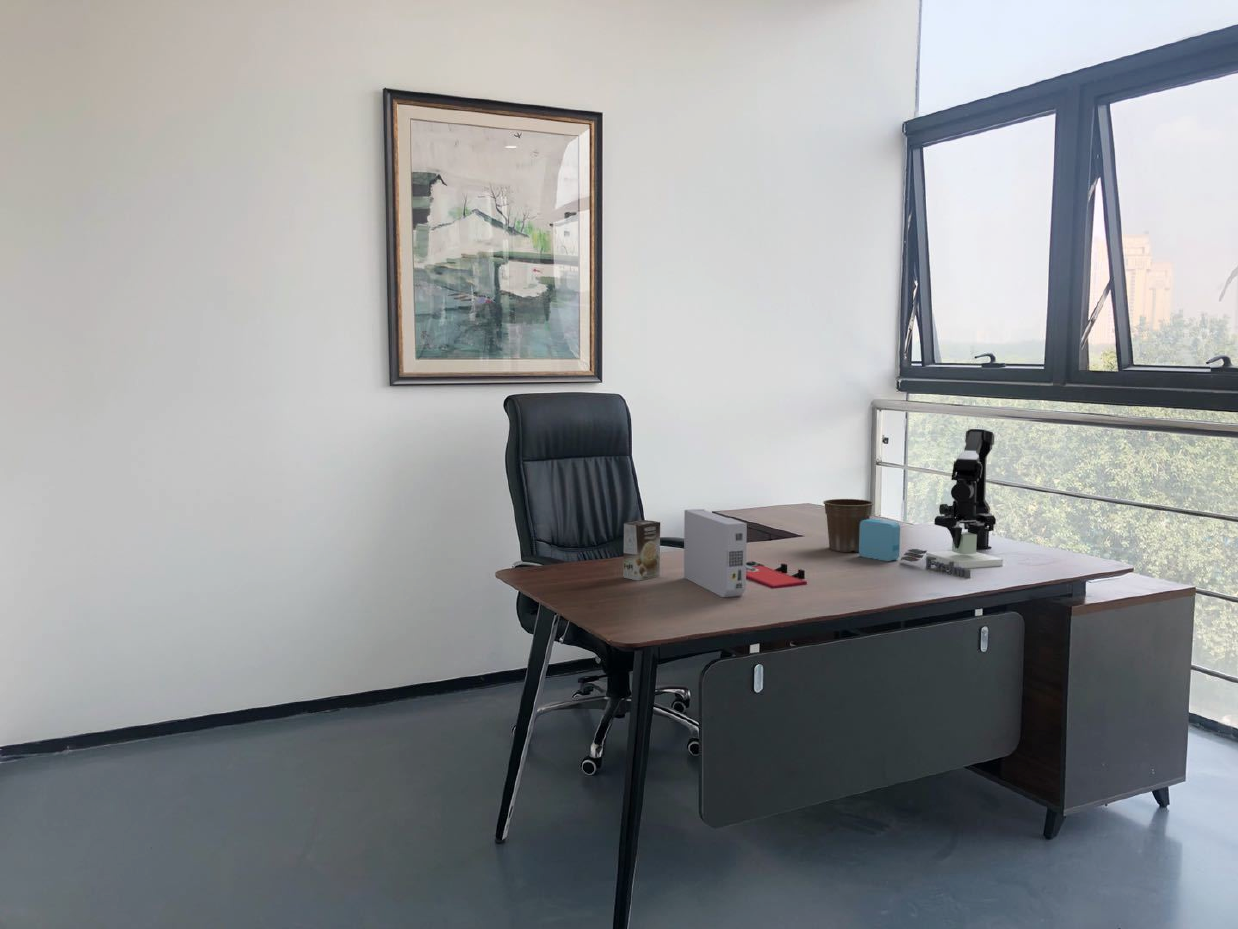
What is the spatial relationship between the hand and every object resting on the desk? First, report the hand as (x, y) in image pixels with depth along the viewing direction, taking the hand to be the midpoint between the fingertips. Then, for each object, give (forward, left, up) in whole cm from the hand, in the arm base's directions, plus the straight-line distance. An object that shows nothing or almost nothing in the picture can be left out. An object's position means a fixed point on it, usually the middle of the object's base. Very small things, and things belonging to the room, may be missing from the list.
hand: (964, 547), depth 288 cm
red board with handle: (+68, -1, -5) cm, 68 cm away
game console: (+88, +9, -5) cm, 89 cm away
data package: (+22, -13, -5) cm, 26 cm away
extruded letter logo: (+16, +7, -5) cm, 18 cm away
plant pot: (+24, -29, -5) cm, 38 cm away
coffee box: (+103, -9, -5) cm, 103 cm away
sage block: (0, 0, -2) cm, 2 cm away
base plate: (0, 0, -5) cm, 5 cm away
